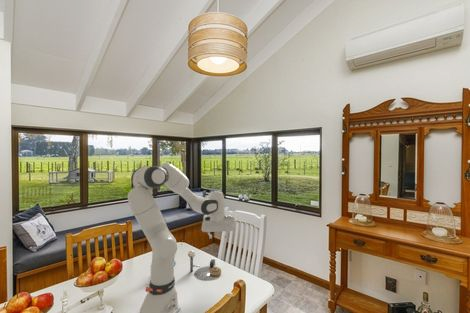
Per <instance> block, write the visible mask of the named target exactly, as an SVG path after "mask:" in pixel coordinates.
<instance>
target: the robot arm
mask: <svg viewBox="0 0 470 313" xmlns="http://www.w3.org/2000/svg"><path fill="white" fill-rule="evenodd" d="M130 182H131V186H130V187H131V190H129V192H128V193H127V202H128V204H129V206H130V210H131V211H132V213H133V215H134V217H135V219H136V221H137V223H138V225H139V226H140V229H141V230H142V232H143V234H144V236H145V238H146V239H147V241H148V243H149V245H150V247H151V250H152V251H151V252H152V257H151V264H150V280H149V283H148V286H146V287H145V289H144V290H145V292H146V295H145V298H144V300H143V302H142V304H141V306H140V309H139V313H178V312H179V311H180V310H181V307H180V304H179V301H178V292H177V289H176V287H175V283H176V279H175V273H174V272H175V269H174V267H175V266H174V261H175V258H176V253H177V251H178V244H177V240H176V238H175V236H174V235H173V234H172V233H171V230H169V228H168V225H167V223H166V221H165V219H164V215H163V214H162V211H161V209H160V208H159V206H158V204H157V202H156V200H155V198H154V195H153V189H158V188H161V187H163V185H164V186H166V187H167V188H168V189H169V190H170V191H172V192H173V193H175V194H177V195H179V196H180V197H181V198H183V200H184V201H186V202H187V204H188V207H189V209H190V210H191V211H192V212H195V213H198V214H201V215H203V217H202V223H201V231H202V233H207V235H208V237H209V240H210V239H213V235H212V234H211V232H213V233H214V232H217V233H218V232H226V233H225V234H224V239H228V235H229V232H233V231H234V230H235V224H234V223H235V217H234V216H233V215H226V213H225V207H224V206H225V198H224V197H225V196H224V193H223V192H222V191H220V190H215V189H213V190H211V191H210V192H209V194H207V195H205V197H204V196H201V195H198V194H195V193H194V192H193V191H192V190H191V189H189V185H190V180H189V178H188V177H187V175H185V173H184V172H182V171H181V169H179V168H177V167H176V166H174V165H173V164H171V163H170V162H163V163H161V164H160V165H159V166H158V165H153V166H150V165H149V166H144V167H143V166H142V167H139V168H137V169H135V170H134V171H133V172H132V173H131V176H130Z"/></svg>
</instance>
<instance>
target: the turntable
mask: <svg viewBox="0 0 470 313" xmlns="http://www.w3.org/2000/svg"><path fill="white" fill-rule="evenodd" d="M215 266H216V259H215V258H214V259H212V258H211V260H210V261H209V266H203V267H198V268H197V270H195V271H194V274H193V276H194V277H195V278H196V279H197V280H199V281H202V282H209V281H214V280H217V279H218V278H220V277H221V275H220V276H218V277H212V276H210V269H211V268H213V267H215Z"/></svg>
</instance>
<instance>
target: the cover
mask: <svg viewBox="0 0 470 313" xmlns="http://www.w3.org/2000/svg"><path fill="white" fill-rule="evenodd" d="M221 275H222V269H221V267H218V266H214V267H213V268H211V269H210V276H212V277H218V276H220V277H221ZM218 278H219V277H218Z"/></svg>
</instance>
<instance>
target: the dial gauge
mask: <svg viewBox="0 0 470 313" xmlns="http://www.w3.org/2000/svg"><path fill="white" fill-rule="evenodd" d="M187 256H188V257H189V258H190V261H189V262H190V264H189V266H190V268H189V270H190V273H193V271H194V268H201V265H195V264H194V258H195V256H196V252H195V251H194V250H189V251H188V253H187Z"/></svg>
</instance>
